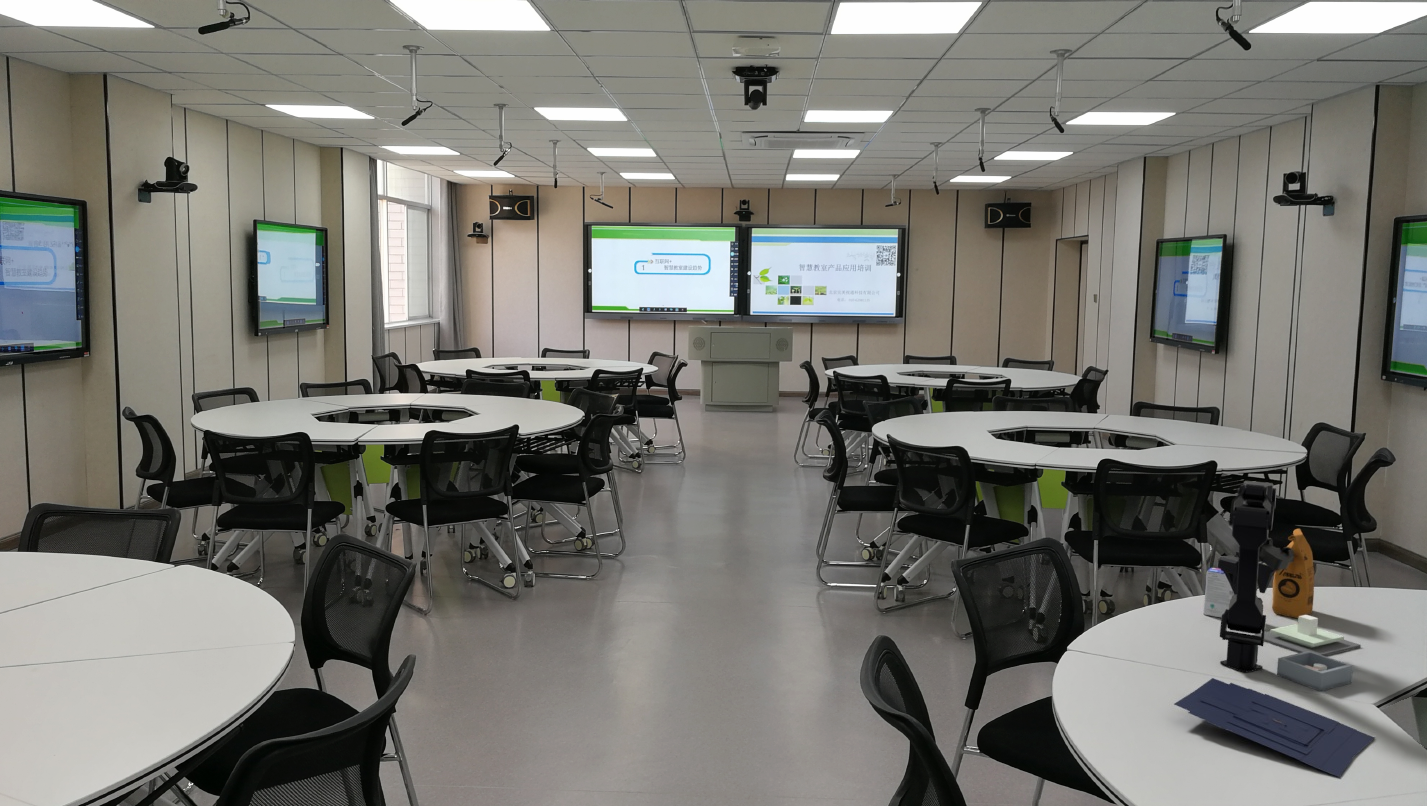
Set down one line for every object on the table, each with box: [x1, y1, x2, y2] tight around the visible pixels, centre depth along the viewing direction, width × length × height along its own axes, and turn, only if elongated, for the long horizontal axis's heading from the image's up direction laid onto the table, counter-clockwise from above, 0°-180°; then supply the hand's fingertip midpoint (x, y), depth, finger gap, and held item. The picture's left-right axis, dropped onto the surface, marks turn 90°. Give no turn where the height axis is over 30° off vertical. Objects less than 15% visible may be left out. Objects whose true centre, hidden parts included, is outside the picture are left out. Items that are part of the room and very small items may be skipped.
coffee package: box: [1271, 528, 1315, 619], centre depth 273 cm, size 10×12×22 cm
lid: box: [1269, 615, 1345, 648], centre depth 250 cm, size 12×11×6 cm
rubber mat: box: [1254, 630, 1362, 657], centre depth 251 cm, size 18×16×1 cm
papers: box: [1173, 677, 1376, 778], centre depth 199 cm, size 24×30×4 cm
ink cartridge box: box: [1203, 567, 1234, 618], centre depth 269 cm, size 10×6×14 cm, turn 53°
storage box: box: [1276, 651, 1354, 692], centre depth 226 cm, size 11×10×4 cm
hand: (1250, 595), depth 248 cm, fingers open, 9 cm apart
